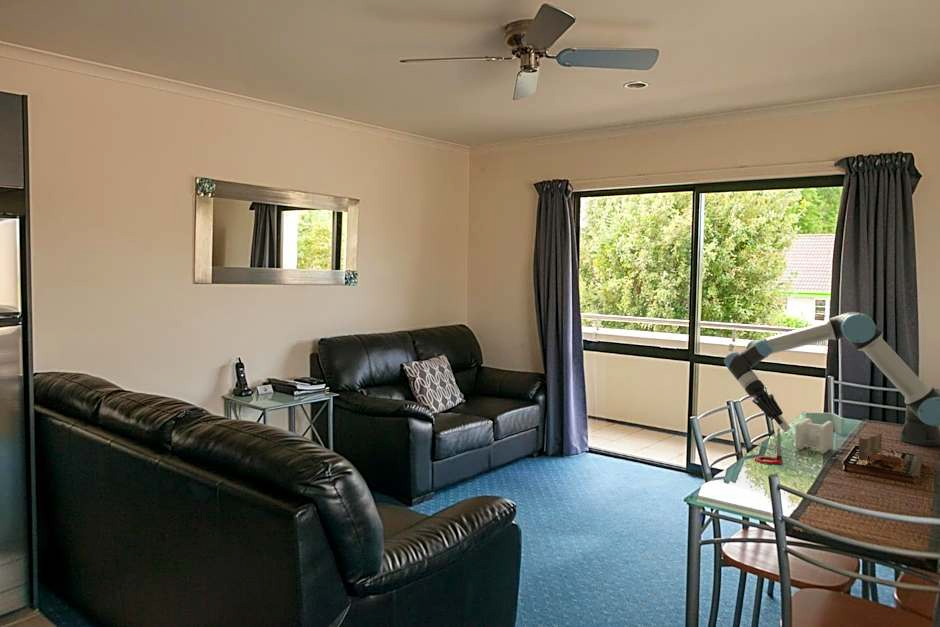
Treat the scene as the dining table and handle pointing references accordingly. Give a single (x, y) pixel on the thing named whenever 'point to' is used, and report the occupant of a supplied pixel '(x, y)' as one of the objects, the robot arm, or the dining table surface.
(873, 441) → the keeper stop
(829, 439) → the cable organizer
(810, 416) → the l-shaped corner panel
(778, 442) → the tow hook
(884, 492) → the dining table surface
